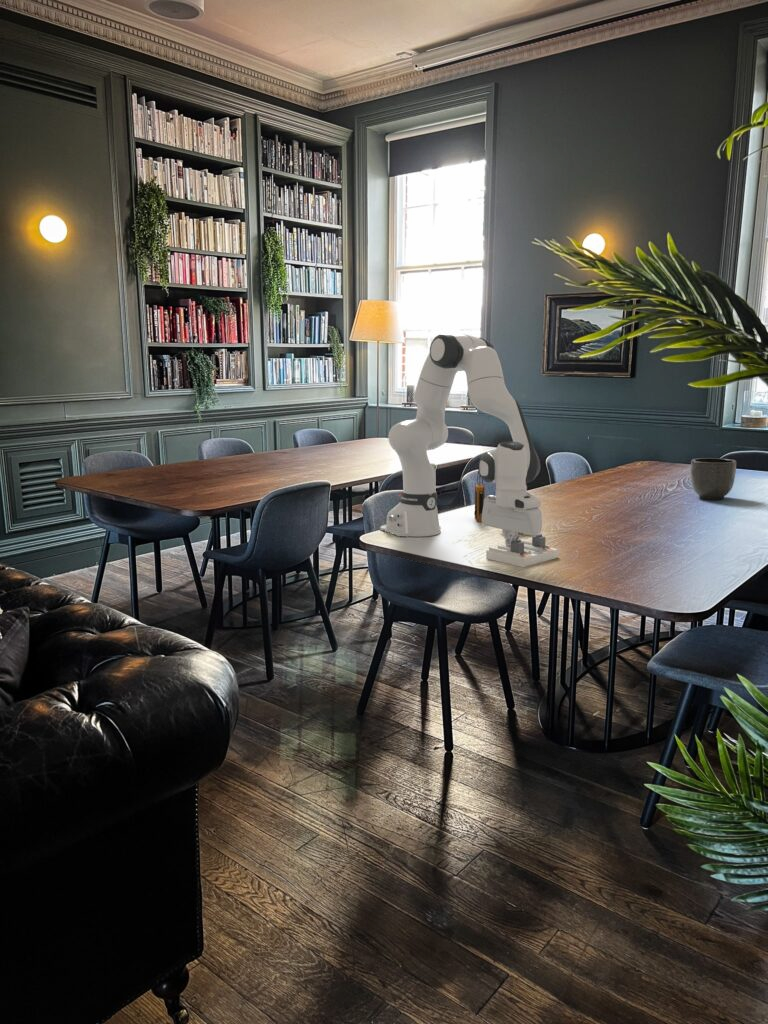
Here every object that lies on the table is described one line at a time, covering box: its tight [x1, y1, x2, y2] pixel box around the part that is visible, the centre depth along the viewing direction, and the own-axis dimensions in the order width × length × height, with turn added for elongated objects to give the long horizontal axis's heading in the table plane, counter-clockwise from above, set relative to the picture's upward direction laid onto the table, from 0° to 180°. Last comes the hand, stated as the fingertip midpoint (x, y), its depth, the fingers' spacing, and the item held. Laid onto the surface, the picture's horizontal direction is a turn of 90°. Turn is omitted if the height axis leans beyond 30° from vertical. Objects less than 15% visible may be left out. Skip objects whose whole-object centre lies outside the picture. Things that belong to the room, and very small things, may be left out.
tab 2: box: [531, 533, 546, 548], centre depth 228 cm, size 3×2×4 cm
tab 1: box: [511, 538, 524, 554], centre depth 222 cm, size 3×2×4 cm
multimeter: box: [473, 465, 486, 523], centre depth 281 cm, size 15×10×20 cm
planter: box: [690, 457, 737, 501], centre depth 318 cm, size 17×17×16 cm
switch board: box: [485, 539, 559, 568], centre depth 227 cm, size 14×16×3 cm
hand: (510, 545), depth 224 cm, fingers closed
